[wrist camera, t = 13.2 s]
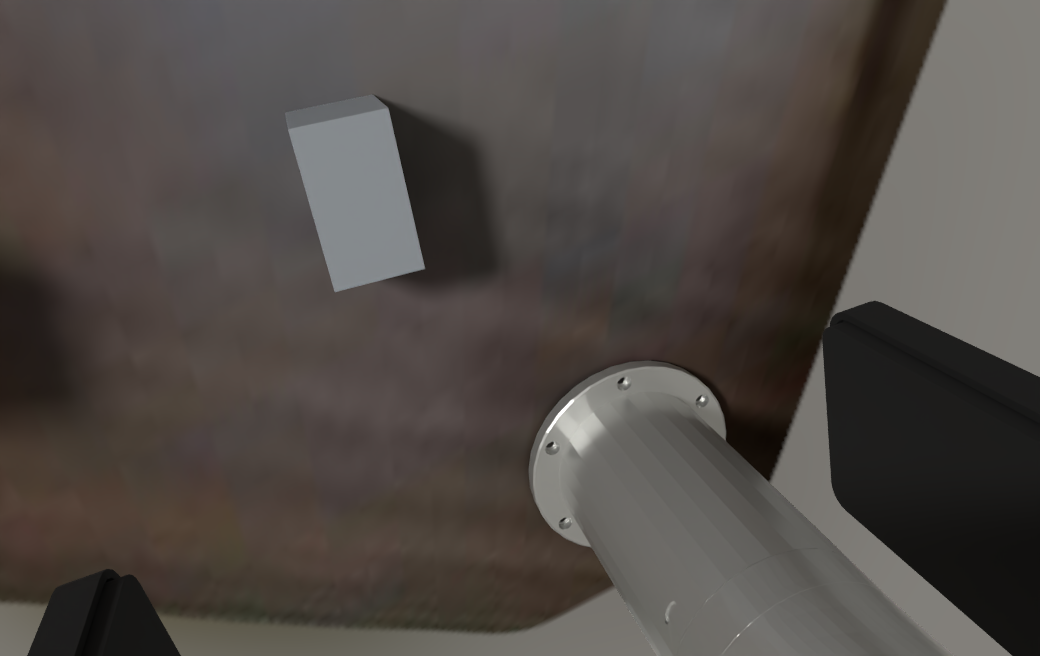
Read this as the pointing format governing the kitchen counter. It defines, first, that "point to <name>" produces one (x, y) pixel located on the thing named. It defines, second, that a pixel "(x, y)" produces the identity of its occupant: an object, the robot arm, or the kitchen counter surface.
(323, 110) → the slate brick
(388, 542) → the kitchen counter surface
